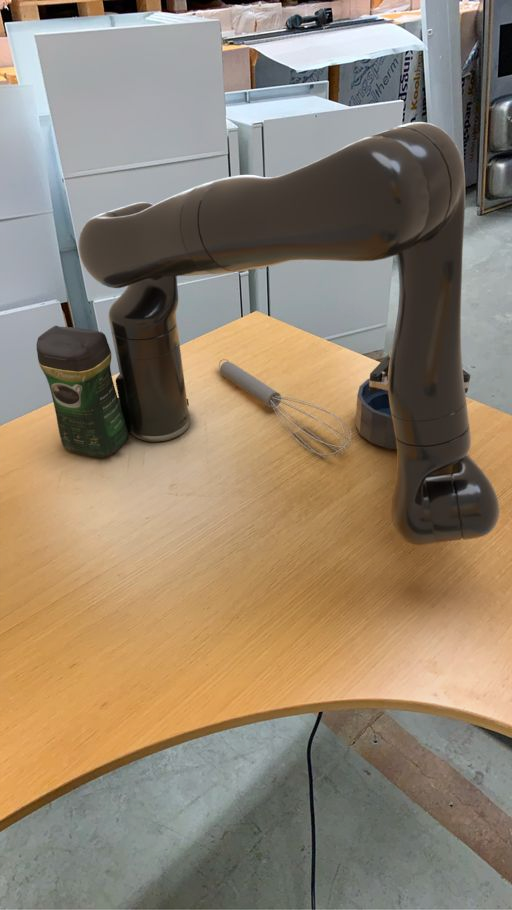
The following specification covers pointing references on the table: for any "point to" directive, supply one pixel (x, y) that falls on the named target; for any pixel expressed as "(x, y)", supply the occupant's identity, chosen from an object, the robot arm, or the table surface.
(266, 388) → the kitchen whisk
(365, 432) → the bowl
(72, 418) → the coffee jar
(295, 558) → the table surface
